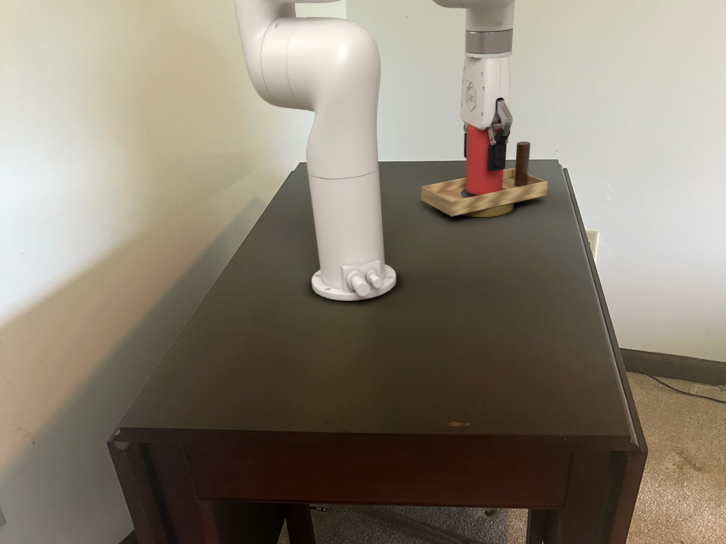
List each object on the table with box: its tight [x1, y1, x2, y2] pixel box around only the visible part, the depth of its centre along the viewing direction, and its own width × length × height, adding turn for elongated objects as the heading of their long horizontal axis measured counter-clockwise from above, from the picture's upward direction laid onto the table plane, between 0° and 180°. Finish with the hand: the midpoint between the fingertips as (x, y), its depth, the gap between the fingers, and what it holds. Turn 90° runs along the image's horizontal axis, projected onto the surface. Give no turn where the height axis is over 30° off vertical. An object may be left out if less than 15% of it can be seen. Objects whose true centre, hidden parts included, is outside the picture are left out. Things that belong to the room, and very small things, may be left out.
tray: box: [420, 141, 549, 217], centre depth 120 cm, size 20×11×8 cm, turn 117°
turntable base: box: [461, 202, 515, 218], centre depth 123 cm, size 11×11×2 cm
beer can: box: [465, 122, 503, 196], centre depth 118 cm, size 7×7×12 cm
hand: (483, 163), depth 118 cm, fingers open, 9 cm apart
